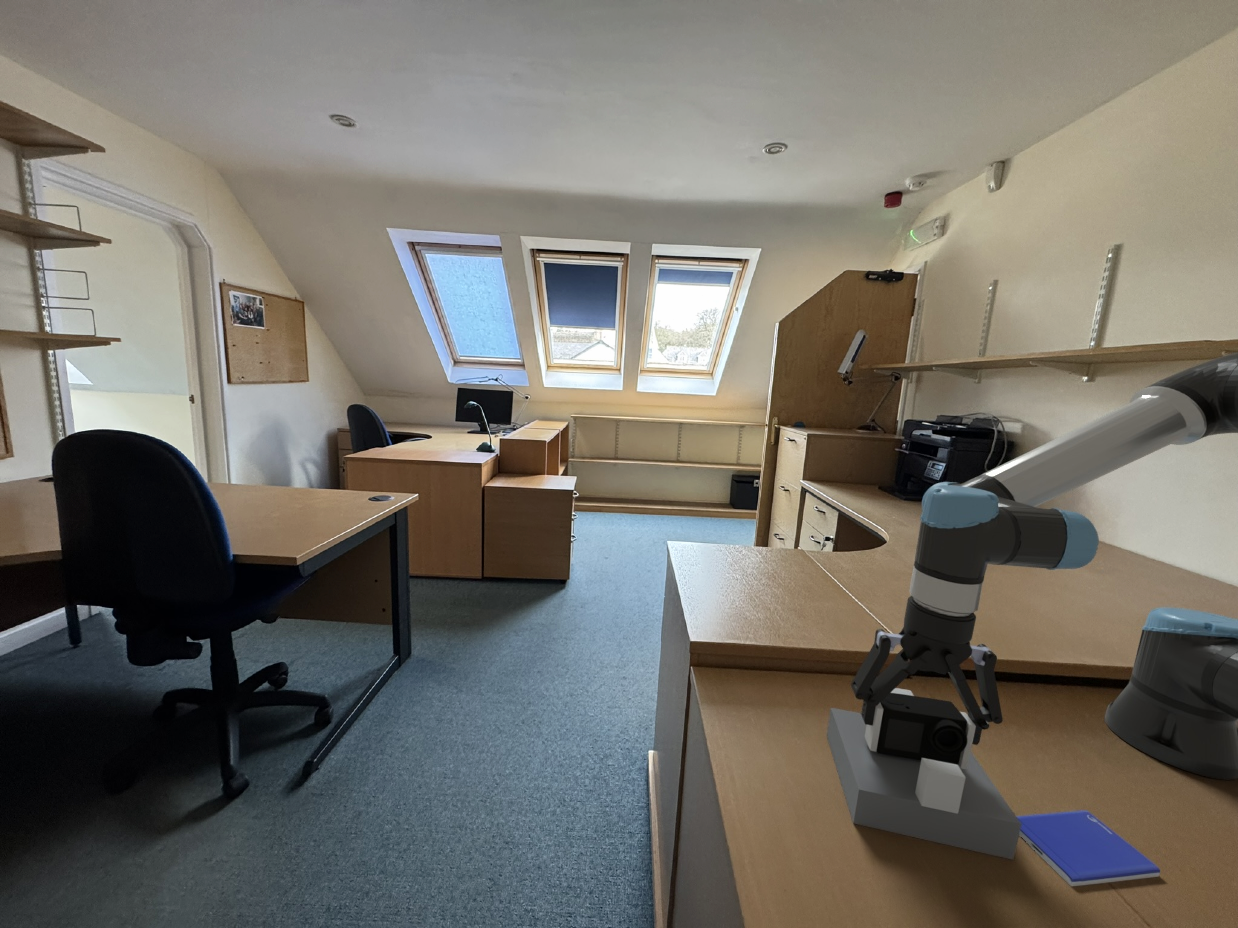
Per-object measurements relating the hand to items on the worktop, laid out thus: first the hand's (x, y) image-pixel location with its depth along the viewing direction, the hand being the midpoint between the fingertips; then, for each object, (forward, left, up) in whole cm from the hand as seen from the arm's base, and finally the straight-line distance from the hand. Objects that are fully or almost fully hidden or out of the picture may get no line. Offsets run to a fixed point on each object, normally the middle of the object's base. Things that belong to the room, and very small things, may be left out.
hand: (913, 752), depth 66 cm
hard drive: (-18, +4, -7) cm, 20 cm away
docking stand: (0, 0, -6) cm, 6 cm away
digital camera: (0, 0, 0) cm, 1 cm away
